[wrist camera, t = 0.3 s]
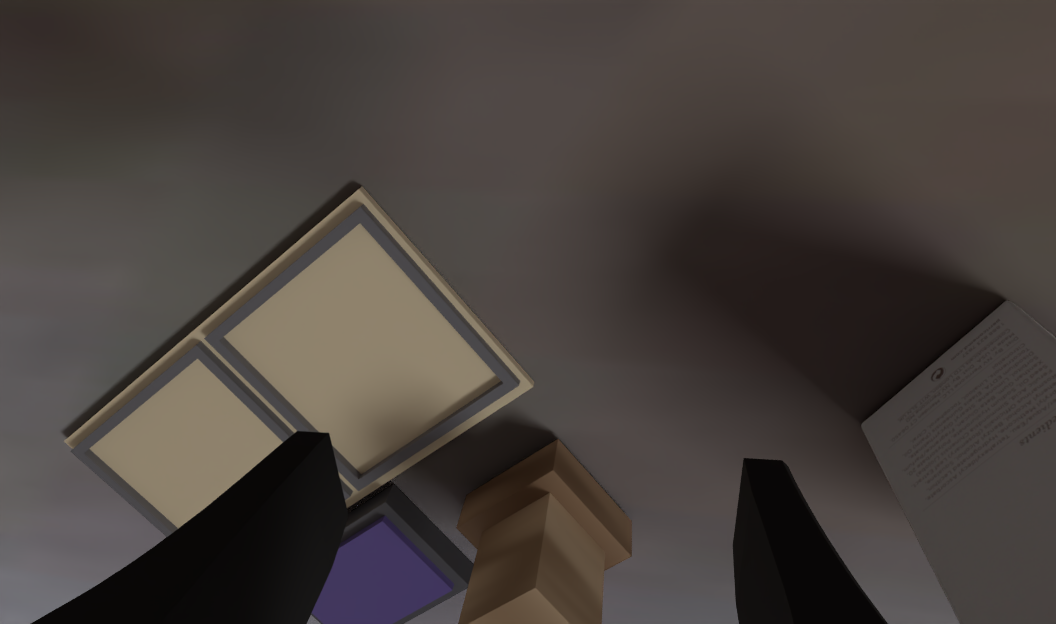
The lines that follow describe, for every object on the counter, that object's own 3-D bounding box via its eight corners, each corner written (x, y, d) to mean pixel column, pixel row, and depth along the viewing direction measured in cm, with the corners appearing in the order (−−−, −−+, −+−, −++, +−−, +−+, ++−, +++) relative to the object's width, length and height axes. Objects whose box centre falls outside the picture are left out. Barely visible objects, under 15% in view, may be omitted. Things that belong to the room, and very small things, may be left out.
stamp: (540, 565, 28) (518, 712, 22) (468, 489, 27) (426, 624, 21) (631, 515, 26) (631, 659, 21) (558, 433, 25) (538, 563, 20)
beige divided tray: (230, 580, 30) (223, 592, 29) (69, 436, 28) (58, 446, 27) (534, 382, 25) (532, 391, 24) (362, 186, 23) (355, 191, 22)
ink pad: (360, 631, 30) (349, 658, 29) (280, 557, 29) (265, 582, 28) (475, 566, 28) (468, 593, 27) (393, 483, 27) (382, 507, 26)
